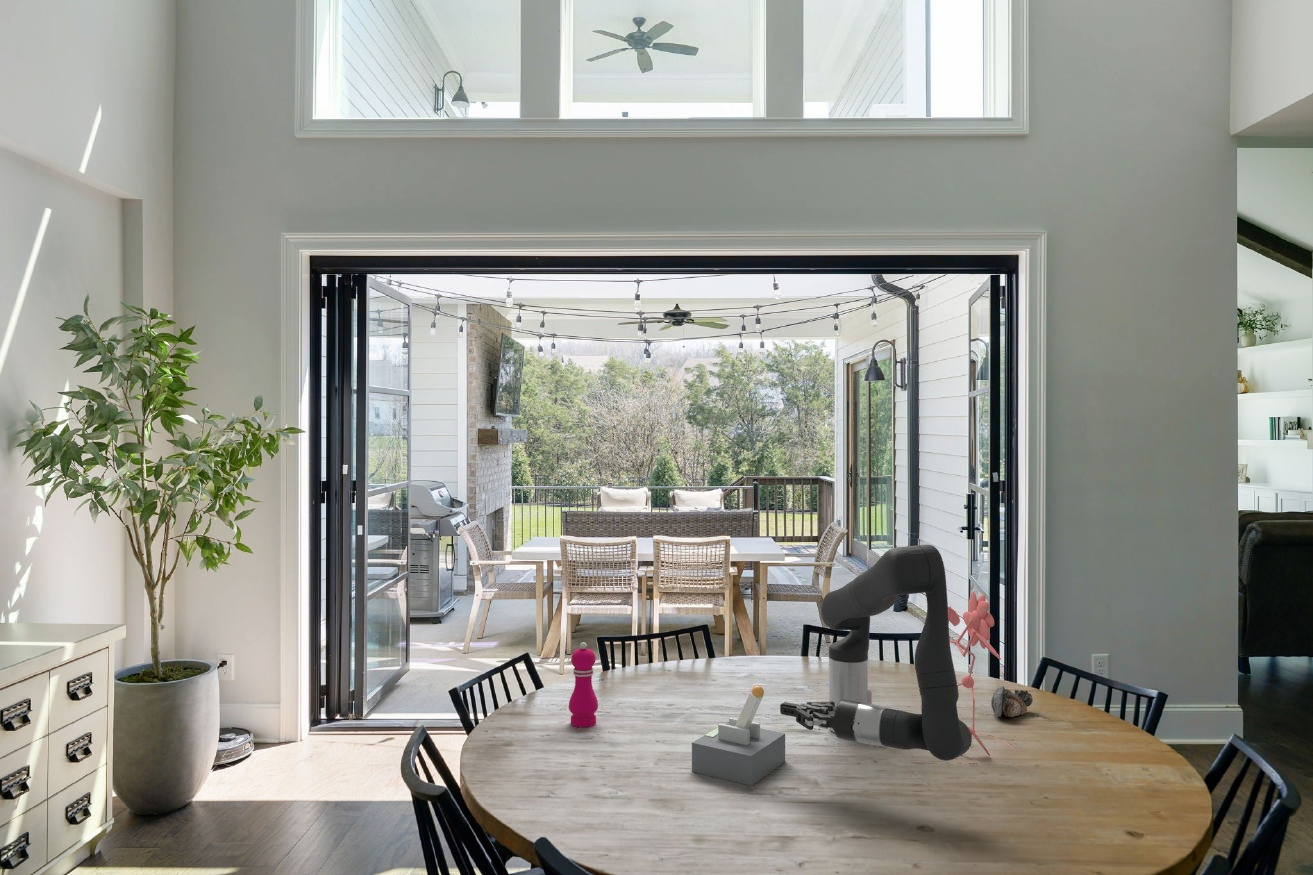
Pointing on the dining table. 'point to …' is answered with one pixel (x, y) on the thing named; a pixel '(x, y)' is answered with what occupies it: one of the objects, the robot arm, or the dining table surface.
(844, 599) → the robot arm
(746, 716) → the lever
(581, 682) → the pepper mill
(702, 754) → the box
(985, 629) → the pink flower figurine
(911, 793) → the dining table surface
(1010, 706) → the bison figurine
